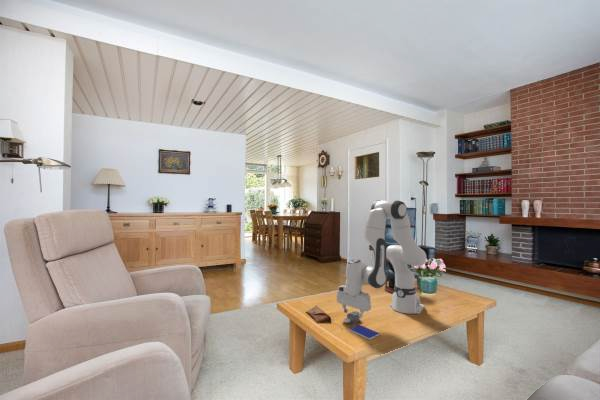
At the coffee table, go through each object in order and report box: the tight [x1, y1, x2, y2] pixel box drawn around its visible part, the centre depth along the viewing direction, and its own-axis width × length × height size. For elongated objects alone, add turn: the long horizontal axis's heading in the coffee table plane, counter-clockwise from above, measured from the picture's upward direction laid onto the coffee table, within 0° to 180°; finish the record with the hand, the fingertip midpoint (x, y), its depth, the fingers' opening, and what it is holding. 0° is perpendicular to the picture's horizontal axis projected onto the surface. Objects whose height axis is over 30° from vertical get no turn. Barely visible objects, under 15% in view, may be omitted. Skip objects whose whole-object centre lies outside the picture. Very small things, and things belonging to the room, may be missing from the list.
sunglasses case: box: [305, 305, 332, 324], centre depth 162 cm, size 18×7×7 cm
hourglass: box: [384, 257, 395, 295], centre depth 213 cm, size 16×16×25 cm
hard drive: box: [349, 324, 380, 340], centre depth 143 cm, size 2×8×12 cm
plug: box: [343, 310, 360, 325], centre depth 156 cm, size 11×4×4 cm, turn 136°
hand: (352, 314), depth 156 cm, fingers open, 8 cm apart
